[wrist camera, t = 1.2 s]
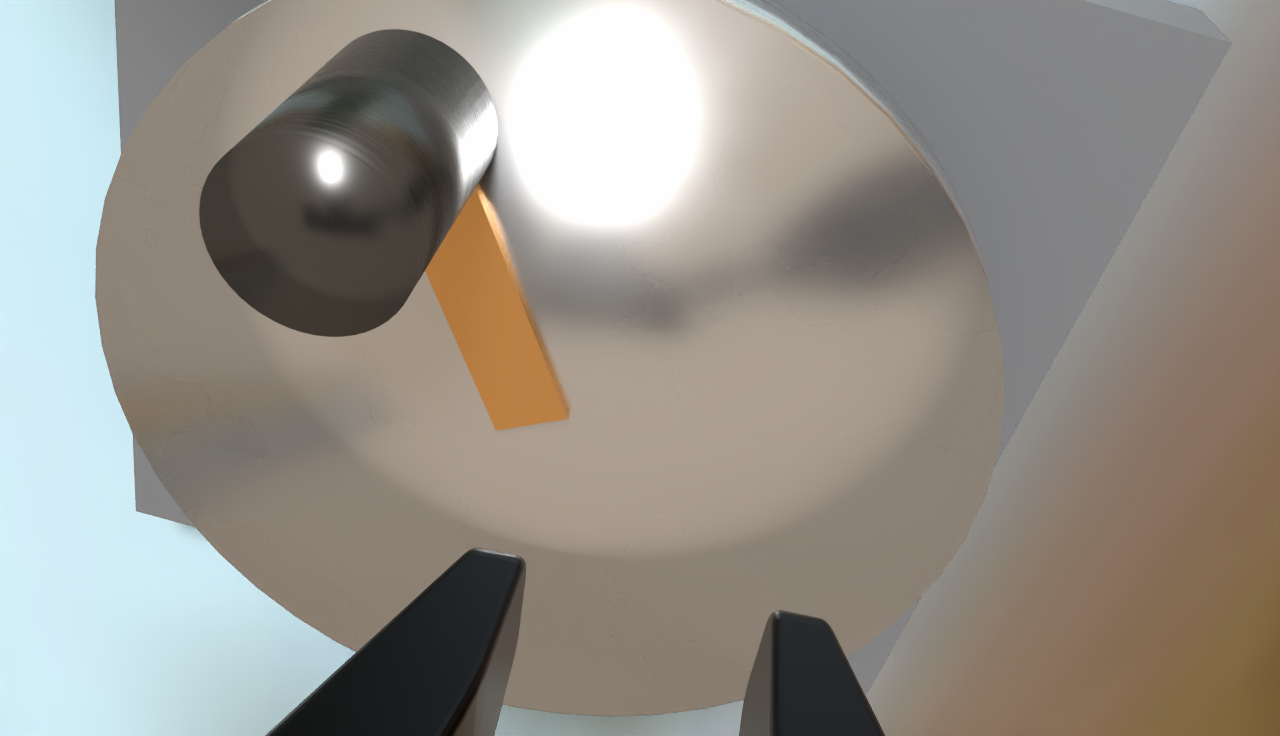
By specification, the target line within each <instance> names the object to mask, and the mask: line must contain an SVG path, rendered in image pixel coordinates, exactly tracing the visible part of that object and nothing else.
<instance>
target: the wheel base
mask: <svg viewBox="0 0 1280 736" xmlns="http://www.w3.org/2000/svg"><path fill="white" fill-rule="evenodd" d="M263 1H264V0H115V19H116V43H117V67H118V91H119V115H120V139H121V153H122V151H123V149H124V147H125V145H126V144H127V142H128V140H129V138H130V137H131V135H132V133H133V132H134V130H135V128H136V126H137V125H138V123H139V121H140V119H141V118H142V116H143V114H144V113H145V111H146V109H147V107H148V106H149V104H150V103H151V102H152V100H153V99H154V98H155V97H156V96H157V94H158V93H159V92H160V91H161V90H162V89H163V87H164V86H165V85H166V84H167V83H168V81H169V80H170V79H171V78H172V77H173V76H174V74H175V73H176V72H177V71H178V70H179V68H180V67H181V66H182V65H183V64H184V63H185V61H187V60H188V59H189V58H190V57H191V56H193V55H194V54H195V53H196V52H197V51H199V50H200V49H201V48H202V47H203V46H205V45H206V44H207V43H208V42H209V41H211V40H212V39H213V38H214V37H215V36H217V35H218V34H219V33H220V32H221V31H223V30H224V29H225V28H226V27H227V26H229V25H230V24H231V23H233V22H234V21H235V20H237V19H238V18H240V17H241V16H243V15H244V14H246V13H247V12H249V11H250V10H251V9H253V8H254V7H256V6H257V5H259V4H260V3H262V2H263ZM774 1H776V2H778V3H780V4H782V5H783V6H784V7H786V8H787V9H789V10H790V11H792V12H793V13H794V14H796V15H797V16H799V17H800V18H801V19H803V20H804V21H806V22H807V23H809V24H810V25H811V26H813V27H814V28H816V29H817V30H819V31H820V32H821V33H823V34H824V35H826V36H827V37H828V38H830V39H831V40H833V41H834V42H836V43H837V44H838V45H839V46H840V47H841V48H842V49H843V50H845V51H846V52H847V53H848V54H849V55H850V56H851V57H852V58H853V59H854V60H855V61H856V62H857V63H858V64H860V65H861V66H862V67H863V68H864V69H865V70H866V71H867V72H868V73H869V74H870V75H871V76H872V77H873V78H875V79H876V80H877V81H878V82H879V83H880V84H881V85H882V86H883V87H884V88H885V89H886V90H887V91H888V92H889V94H890V95H891V96H892V97H893V98H894V100H895V101H896V102H897V103H898V105H899V106H900V107H901V108H902V110H903V111H904V112H905V113H906V115H907V116H908V117H909V118H910V120H911V121H912V122H913V123H914V125H915V126H916V127H917V128H918V129H919V131H920V132H921V133H922V134H923V136H924V137H925V138H926V139H927V141H928V143H929V145H930V146H931V148H932V150H933V151H934V153H935V155H936V156H937V158H938V160H939V161H940V163H941V165H942V167H943V168H944V170H945V172H946V173H947V175H948V177H949V178H950V180H951V182H952V184H953V185H954V187H955V189H956V190H957V192H958V195H959V197H960V200H961V202H962V205H963V207H964V210H965V212H966V215H967V217H968V220H969V222H970V224H971V227H972V229H973V232H974V234H975V237H976V239H977V242H978V244H979V248H980V252H981V256H982V261H983V265H984V269H985V273H986V277H987V282H988V286H989V290H990V295H991V299H992V303H993V308H994V312H995V316H996V321H997V325H998V330H999V334H1000V338H1001V343H1002V359H1003V376H1004V392H1005V398H1004V408H1003V417H1002V426H1001V436H1000V445H999V450H998V453H997V457H996V461H995V464H994V466H995V465H996V463H997V461H998V459H999V457H1000V456H1001V454H1002V452H1003V450H1004V449H1005V447H1006V445H1007V443H1008V441H1009V440H1010V438H1011V436H1012V434H1013V432H1014V431H1015V429H1016V427H1017V425H1018V424H1019V422H1020V420H1021V418H1022V416H1023V415H1024V413H1025V411H1026V409H1027V407H1028V406H1029V404H1030V402H1031V400H1032V399H1033V397H1034V395H1035V393H1036V391H1037V390H1038V388H1039V386H1040V384H1041V382H1042V381H1043V379H1044V377H1045V375H1046V374H1047V372H1048V370H1049V368H1050V366H1051V365H1052V363H1053V361H1054V359H1055V357H1056V356H1057V354H1058V352H1059V350H1060V349H1061V347H1062V345H1063V343H1064V341H1065V340H1066V338H1067V336H1068V334H1069V332H1070V331H1071V329H1072V327H1073V325H1074V324H1075V322H1076V320H1077V318H1078V316H1079V315H1080V313H1081V311H1082V309H1083V307H1084V306H1085V304H1086V302H1087V300H1088V299H1089V297H1090V295H1091V293H1092V291H1093V290H1094V288H1095V286H1096V284H1097V282H1098V281H1099V279H1100V277H1101V275H1102V274H1103V272H1104V270H1105V268H1106V266H1107V265H1108V263H1109V261H1110V259H1111V257H1112V256H1113V254H1114V252H1115V250H1116V249H1117V247H1118V245H1119V243H1120V241H1121V240H1122V238H1123V236H1124V234H1125V232H1126V231H1127V229H1128V227H1129V225H1130V224H1131V222H1132V220H1133V218H1134V216H1135V215H1136V213H1137V211H1138V209H1139V207H1140V206H1141V204H1142V202H1143V200H1144V199H1145V197H1146V195H1147V193H1148V191H1149V190H1150V188H1151V186H1152V184H1153V182H1154V181H1155V179H1156V177H1157V175H1158V174H1159V172H1160V170H1161V168H1162V166H1163V165H1164V163H1165V161H1166V159H1167V157H1168V156H1169V154H1170V152H1171V150H1172V149H1173V147H1174V145H1175V143H1176V141H1177V140H1178V138H1179V136H1180V134H1181V132H1182V131H1183V129H1184V127H1185V125H1186V124H1187V122H1188V120H1189V118H1190V116H1191V115H1192V113H1193V111H1194V109H1195V107H1196V106H1197V104H1198V102H1199V100H1200V99H1201V97H1202V95H1203V93H1204V91H1205V90H1206V88H1207V86H1208V84H1209V82H1210V81H1211V79H1212V77H1213V75H1214V74H1215V72H1216V70H1217V68H1218V66H1219V65H1220V63H1221V61H1222V59H1223V57H1224V56H1225V54H1226V52H1227V50H1228V49H1229V47H1230V45H1231V42H1230V41H1229V39H1228V38H1227V37H1226V36H1225V35H1224V34H1223V33H1222V32H1221V31H1220V30H1219V29H1218V28H1217V27H1216V26H1215V24H1214V23H1213V22H1212V21H1211V20H1210V19H1209V18H1208V17H1207V16H1206V15H1205V14H1204V13H1203V12H1202V11H1200V10H1197V9H1193V8H1190V7H1186V6H1183V5H1180V4H1176V3H1173V2H1169V1H1166V0H774ZM133 451H134V475H135V499H136V511H138V512H142V513H145V514H149V515H153V516H156V517H160V518H164V519H167V520H171V521H175V522H178V523H182V524H186V525H189V526H193V527H195V526H194V525H193V524H192V523H191V521H190V520H189V519H188V518H187V517H186V515H185V514H184V513H183V511H182V510H181V509H180V507H179V506H178V505H177V503H176V502H175V501H174V499H173V498H172V496H171V495H170V494H169V492H168V491H167V490H166V488H165V487H164V486H163V484H162V483H161V481H160V480H159V479H158V477H157V475H156V474H155V472H154V470H153V468H152V467H151V465H150V463H149V461H148V460H147V458H146V456H145V454H144V453H143V451H142V449H141V448H140V446H139V444H138V442H137V441H136V439H135V437H134V435H133ZM921 597H922V596H921ZM921 597H920V598H919V599H918V600H917V602H916V603H915V604H914V605H913V606H912V607H911V608H910V609H909V610H908V611H907V612H906V613H905V614H903V615H902V616H901V617H900V618H899V619H897V620H896V621H895V622H894V623H892V624H891V625H890V626H889V627H888V628H886V629H885V630H884V631H883V632H882V633H880V634H879V635H878V636H877V637H876V638H874V639H873V640H871V641H870V642H868V643H867V644H865V645H864V646H862V647H860V648H859V649H857V650H856V651H854V652H852V653H851V654H849V655H848V656H846V658H847V660H848V662H849V664H850V666H851V668H852V670H853V672H854V674H855V676H856V678H857V680H858V682H859V684H860V686H861V688H862V690H863V692H864V694H865V696H866V695H867V693H868V691H869V690H870V688H871V686H872V684H873V682H874V681H875V679H876V677H877V675H878V674H879V672H880V670H881V668H882V666H883V665H884V663H885V661H886V659H887V657H888V656H889V654H890V652H891V650H892V649H893V647H894V645H895V643H896V641H897V640H898V638H899V636H900V634H901V632H902V631H903V629H904V627H905V625H906V624H907V622H908V620H909V618H910V616H911V615H912V613H913V611H914V609H915V607H916V606H917V604H918V602H919V600H920V599H921Z"/></svg>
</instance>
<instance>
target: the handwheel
mask: <svg viewBox="0 0 1280 736" xmlns="http://www.w3.org/2000/svg"><path fill="white" fill-rule="evenodd" d="M95 298H96V305H97V312H98V320H99V327H100V335H101V342H102V347H103V351H104V354H105V358H106V361H107V365H108V368H109V372H110V376H111V379H112V383H113V386H114V390H115V393H116V395H117V398H118V400H119V402H120V405H121V407H122V409H123V412H124V414H125V416H126V419H127V421H128V423H129V426H130V428H131V430H132V433H133V435H134V437H135V439H136V441H137V442H138V444H139V446H140V448H141V449H142V451H143V453H144V454H145V456H146V458H147V460H148V461H149V463H150V465H151V467H152V468H153V470H154V472H155V474H156V475H157V477H158V479H159V480H160V481H161V483H162V484H163V486H164V487H165V488H166V490H167V491H168V492H169V494H170V495H171V496H172V498H173V499H174V501H175V502H176V503H177V505H178V506H179V507H180V509H181V510H182V511H183V513H184V514H185V515H186V517H187V518H188V519H189V520H190V521H191V523H192V524H193V525H194V526H195V527H196V528H197V529H198V530H199V531H200V532H201V534H202V535H203V536H204V537H205V538H206V539H207V540H208V541H209V542H210V544H211V545H212V546H213V547H214V548H215V549H216V550H217V551H218V552H219V553H220V554H221V555H222V556H223V557H224V558H225V559H226V560H227V561H228V562H229V563H230V564H232V565H233V566H234V567H235V568H236V569H237V570H238V571H239V572H240V573H241V574H243V575H244V576H245V577H246V578H247V579H248V580H249V581H250V582H251V583H252V584H254V585H255V586H256V587H257V588H258V589H260V590H261V591H262V592H264V593H265V594H266V595H268V596H269V597H270V598H272V599H273V600H274V601H276V602H277V603H278V604H280V605H281V606H282V607H284V608H285V609H286V610H288V611H289V612H290V613H292V614H293V615H294V616H296V617H297V618H299V619H300V620H302V621H304V622H305V623H307V624H308V625H310V626H312V627H313V628H315V629H317V630H318V631H320V632H321V633H323V634H325V635H326V636H328V637H329V638H331V639H333V640H334V641H336V642H338V643H340V644H342V645H343V646H345V647H347V648H349V649H351V650H353V651H355V652H357V651H358V650H359V649H360V648H362V647H363V646H364V645H365V644H366V643H367V642H368V641H369V640H370V639H371V638H373V637H374V636H375V635H376V634H377V633H378V632H379V631H380V630H381V629H382V628H383V627H385V626H386V625H387V624H388V623H389V622H390V621H391V620H392V619H393V618H394V617H395V616H397V615H398V614H399V613H400V612H401V611H402V610H403V609H404V608H405V607H406V606H407V605H409V604H410V603H411V602H412V601H413V600H414V599H415V598H416V597H417V596H418V595H420V594H421V593H422V592H423V591H424V590H425V589H426V588H427V587H428V586H429V585H430V584H432V583H433V582H434V581H435V580H436V579H437V578H438V577H439V576H440V575H441V574H442V573H444V572H445V571H446V570H447V569H448V568H449V567H450V566H451V565H452V564H453V563H454V562H456V561H457V560H458V559H459V558H460V557H461V556H462V555H463V554H465V553H466V552H467V551H468V550H470V549H472V548H476V547H481V548H486V549H491V550H496V551H501V552H506V553H510V554H515V555H519V556H521V557H522V558H523V559H524V560H525V562H526V579H525V587H524V596H523V604H522V612H521V620H520V628H519V636H518V642H517V647H516V652H515V656H514V660H513V664H512V668H511V672H510V676H509V680H508V684H507V688H506V692H505V695H504V699H503V703H502V704H505V705H509V706H513V707H519V708H526V709H533V710H540V711H547V712H554V713H561V714H577V715H595V716H634V715H659V714H667V713H675V712H682V711H690V710H698V709H705V708H709V707H714V706H718V705H722V704H727V703H731V702H735V701H740V700H744V698H745V693H746V689H747V685H748V681H749V678H750V674H751V671H752V668H753V665H754V662H755V658H756V655H757V652H758V649H759V645H760V642H761V639H762V636H763V632H764V629H765V626H766V623H767V620H768V618H769V616H770V615H771V614H772V612H775V611H777V610H784V611H789V612H794V613H798V614H803V615H808V616H813V617H817V618H821V619H823V620H825V621H826V622H827V623H828V624H829V625H830V626H831V628H832V630H833V632H834V634H835V636H836V638H837V640H838V642H839V644H840V646H841V648H842V650H843V652H844V654H845V656H848V655H849V654H851V653H852V652H854V651H856V650H857V649H859V648H860V647H862V646H864V645H865V644H867V643H868V642H870V641H871V640H873V639H874V638H876V637H877V636H878V635H879V634H880V633H882V632H883V631H884V630H885V629H886V628H888V627H889V626H890V625H891V624H892V623H894V622H895V621H896V620H897V619H899V618H900V617H901V616H902V615H903V614H905V613H906V612H907V611H908V610H909V609H910V608H911V607H912V606H913V605H914V604H915V603H916V602H917V600H918V599H919V598H920V597H921V596H922V595H923V594H924V593H925V592H926V591H927V590H928V588H929V587H930V586H931V585H932V584H933V583H934V582H935V581H936V580H937V579H938V578H939V576H940V575H941V574H942V572H943V571H944V569H945V568H946V566H947V565H948V563H949V562H950V560H951V559H952V557H953V556H954V554H955V553H956V551H957V550H958V548H959V547H960V545H961V544H962V543H963V541H964V540H965V538H966V536H967V534H968V532H969V530H970V528H971V525H972V523H973V521H974V519H975V517H976V515H977V513H978V510H979V508H980V506H981V504H982V502H983V500H984V498H985V495H986V493H987V489H988V486H989V482H990V478H991V475H992V471H993V468H994V464H995V461H996V457H997V453H998V450H999V445H1000V436H1001V426H1002V417H1003V408H1004V398H1005V392H1004V376H1003V359H1002V343H1001V338H1000V334H999V330H998V325H997V321H996V316H995V312H994V308H993V303H992V299H991V295H990V290H989V286H988V282H987V277H986V273H985V269H984V265H983V261H982V256H981V252H980V248H979V244H978V242H977V239H976V237H975V234H974V232H973V229H972V227H971V224H970V222H969V220H968V217H967V215H966V212H965V210H964V207H963V205H962V202H961V200H960V197H959V195H958V192H957V190H956V189H955V187H954V185H953V184H952V182H951V180H950V178H949V177H948V175H947V173H946V172H945V170H944V168H943V167H942V165H941V163H940V161H939V160H938V158H937V156H936V155H935V153H934V151H933V150H932V148H931V146H930V145H929V143H928V141H927V139H926V138H925V137H924V136H923V134H922V133H921V132H920V131H919V129H918V128H917V127H916V126H915V125H914V123H913V122H912V121H911V120H910V118H909V117H908V116H907V115H906V113H905V112H904V111H903V110H902V108H901V107H900V106H899V105H898V103H897V102H896V101H895V100H894V98H893V97H892V96H891V95H890V94H889V92H888V91H887V90H886V89H885V88H884V87H883V86H882V85H881V84H880V83H879V82H878V81H877V80H876V79H875V78H873V77H872V76H871V75H870V74H869V73H868V72H867V71H866V70H865V69H864V68H863V67H862V66H861V65H860V64H858V63H857V62H856V61H855V60H854V59H853V58H852V57H851V56H850V55H849V54H848V53H847V52H846V51H845V50H843V49H842V48H841V47H840V46H839V45H838V44H837V43H836V42H834V41H833V40H831V39H830V38H828V37H827V36H826V35H824V34H823V33H821V32H820V31H819V30H817V29H816V28H814V27H813V26H811V25H810V24H809V23H807V22H806V21H804V20H803V19H801V18H800V17H799V16H797V15H796V14H794V13H793V12H792V11H790V10H789V9H787V8H786V7H784V6H783V5H782V4H780V3H778V2H776V1H774V0H264V1H263V2H262V3H260V4H259V5H257V6H256V7H254V8H253V9H251V10H250V11H249V12H247V13H246V14H244V15H243V16H241V17H240V18H238V19H237V20H235V21H234V22H233V23H231V24H230V25H229V26H227V27H226V28H225V29H224V30H223V31H221V32H220V33H219V34H218V35H217V36H215V37H214V38H213V39H212V40H211V41H209V42H208V43H207V44H206V45H205V46H203V47H202V48H201V49H200V50H199V51H197V52H196V53H195V54H194V55H193V56H191V57H190V58H189V59H188V60H187V61H185V63H184V64H183V65H182V66H181V67H180V68H179V70H178V71H177V72H176V73H175V74H174V76H173V77H172V78H171V79H170V80H169V81H168V83H167V84H166V85H165V86H164V87H163V89H162V90H161V91H160V92H159V93H158V94H157V96H156V97H155V98H154V99H153V100H152V102H151V103H150V104H149V106H148V107H147V109H146V111H145V113H144V114H143V116H142V118H141V119H140V121H139V123H138V125H137V126H136V128H135V130H134V132H133V133H132V135H131V137H130V138H129V140H128V142H127V144H126V145H125V147H124V149H123V151H122V153H121V156H120V159H119V162H118V164H117V167H116V170H115V173H114V175H113V178H112V181H111V184H110V186H109V189H108V192H107V195H106V197H105V202H104V207H103V213H102V218H101V224H100V230H99V235H98V241H97V246H96V291H95Z"/></svg>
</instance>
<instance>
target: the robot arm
mask: <svg viewBox="0 0 1280 736" xmlns="http://www.w3.org/2000/svg"><path fill="white" fill-rule="evenodd" d="M525 579H526V562H525V560H524V559H523V558H522V557H521V556H519V555H515V554H510V553H506V552H501V551H496V550H491V549H486V548H481V547H476V548H472V549H470V550H468V551H467V552H466V553H465V554H463V555H462V556H461V557H460V558H459V559H458V560H457V561H456V562H454V563H453V564H452V565H451V566H450V567H449V568H448V569H447V570H446V571H445V572H444V573H442V574H441V575H440V576H439V577H438V578H437V579H436V580H435V581H434V582H433V583H432V584H430V585H429V586H428V587H427V588H426V589H425V590H424V591H423V592H422V593H421V594H420V595H418V596H417V597H416V598H415V599H414V600H413V601H412V602H411V603H410V604H409V605H407V606H406V607H405V608H404V609H403V610H402V611H401V612H400V613H399V614H398V615H397V616H395V617H394V618H393V619H392V620H391V621H390V622H389V623H388V624H387V625H386V626H385V627H383V628H382V629H381V630H380V631H379V632H378V633H377V634H376V635H375V636H374V637H373V638H371V639H370V640H369V641H368V642H367V643H366V644H365V645H364V646H363V647H362V648H360V649H359V650H358V651H357V652H356V653H355V654H354V655H353V656H352V657H351V658H350V659H348V660H347V661H346V662H345V663H344V664H343V665H342V666H341V667H340V668H339V669H338V670H336V671H335V672H334V673H333V674H332V675H331V676H330V677H329V678H328V679H327V680H326V681H324V682H323V683H322V684H321V685H320V686H319V687H318V688H317V689H316V690H315V691H313V692H312V693H311V694H310V695H309V696H308V697H307V698H306V699H305V700H304V701H303V702H301V703H300V704H299V705H298V706H297V707H296V708H295V709H294V710H293V711H292V712H291V713H289V714H288V715H287V716H286V717H285V718H284V719H283V720H282V721H281V722H280V723H279V724H277V725H276V726H275V727H274V728H273V729H272V730H271V731H270V732H269V733H268V734H266V735H265V736H494V734H495V730H496V726H497V722H498V719H499V715H500V711H501V707H502V703H503V699H504V695H505V692H506V688H507V684H508V680H509V676H510V672H511V668H512V664H513V660H514V656H515V652H516V647H517V642H518V636H519V628H520V620H521V612H522V604H523V596H524V587H525ZM739 736H885V734H884V732H883V730H882V728H881V726H880V724H879V722H878V720H877V718H876V716H875V714H874V712H873V710H872V708H871V706H870V704H869V702H868V700H867V698H866V696H865V694H864V692H863V690H862V688H861V686H860V684H859V682H858V680H857V678H856V676H855V674H854V672H853V670H852V668H851V666H850V664H849V662H848V660H847V658H846V656H845V654H844V652H843V650H842V648H841V646H840V644H839V642H838V640H837V638H836V636H835V634H834V632H833V630H832V628H831V626H830V625H829V624H828V623H827V622H826V621H825V620H823V619H821V618H817V617H813V616H808V615H803V614H798V613H794V612H789V611H784V610H777V611H775V612H772V614H771V615H770V616H769V618H768V620H767V623H766V626H765V629H764V632H763V636H762V639H761V642H760V645H759V649H758V652H757V655H756V658H755V662H754V665H753V668H752V671H751V674H750V678H749V681H748V685H747V689H746V693H745V698H744V704H743V710H742V717H741V725H740V733H739Z"/></svg>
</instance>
